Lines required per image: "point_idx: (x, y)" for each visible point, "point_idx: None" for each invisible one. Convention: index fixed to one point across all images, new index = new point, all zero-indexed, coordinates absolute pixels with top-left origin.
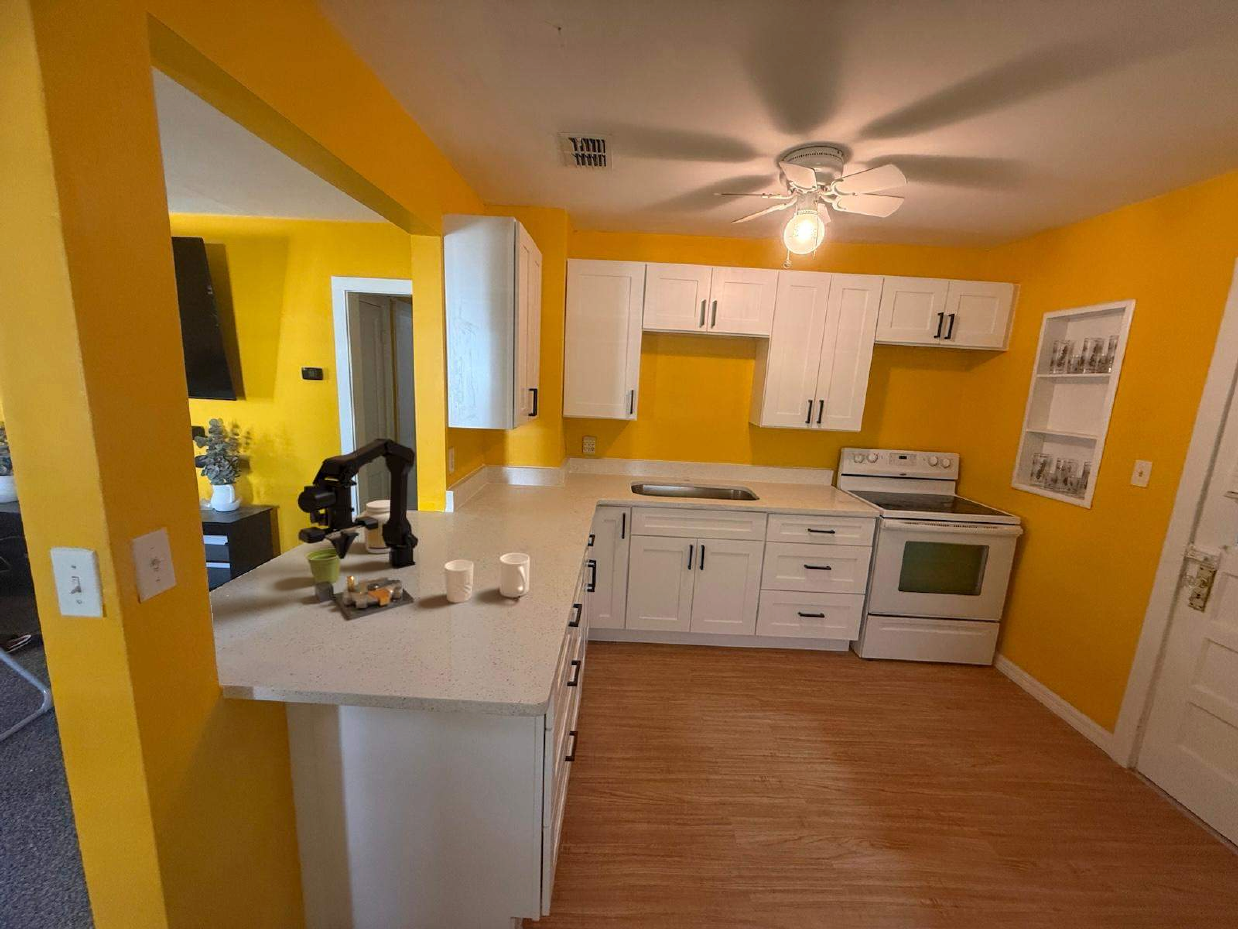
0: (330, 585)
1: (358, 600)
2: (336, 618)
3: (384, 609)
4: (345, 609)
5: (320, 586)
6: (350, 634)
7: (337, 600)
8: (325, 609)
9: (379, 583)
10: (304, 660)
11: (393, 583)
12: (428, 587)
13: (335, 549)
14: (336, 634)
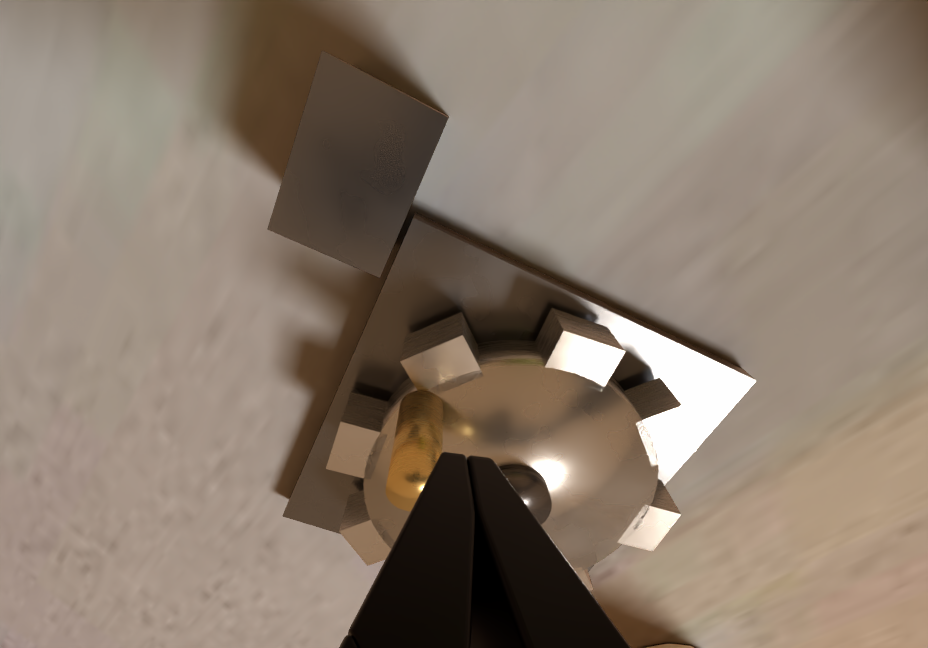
0: (382, 234)
1: (348, 537)
2: (260, 440)
3: None
4: (314, 450)
5: (320, 172)
6: (221, 577)
7: (372, 310)
8: (281, 311)
9: (587, 472)
10: (9, 584)
11: (617, 531)
12: (723, 543)
13: (367, 609)
14: (182, 541)
